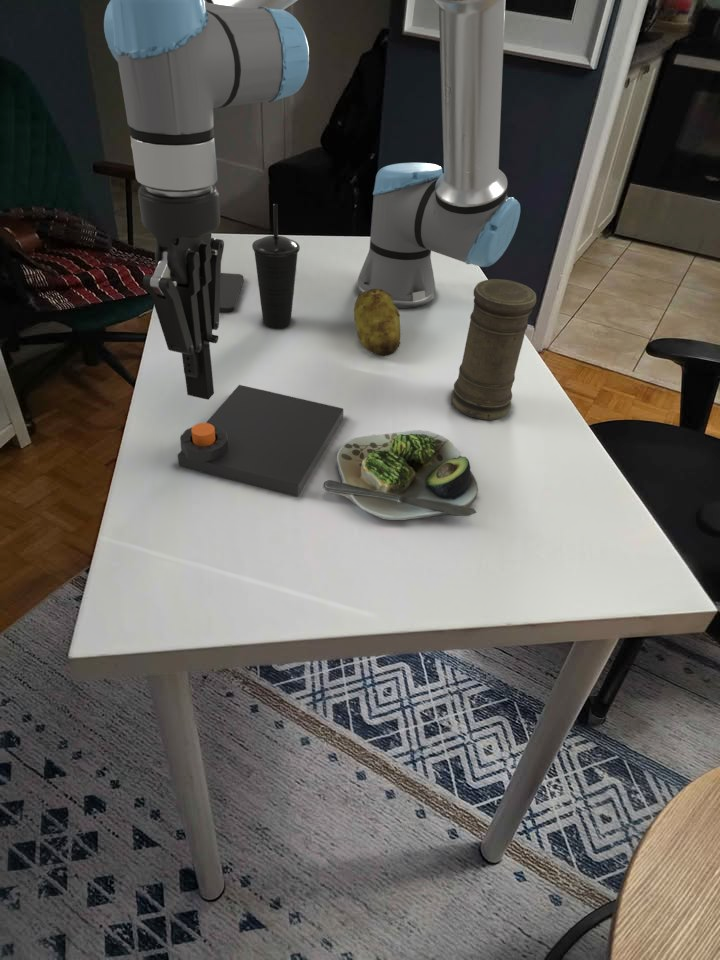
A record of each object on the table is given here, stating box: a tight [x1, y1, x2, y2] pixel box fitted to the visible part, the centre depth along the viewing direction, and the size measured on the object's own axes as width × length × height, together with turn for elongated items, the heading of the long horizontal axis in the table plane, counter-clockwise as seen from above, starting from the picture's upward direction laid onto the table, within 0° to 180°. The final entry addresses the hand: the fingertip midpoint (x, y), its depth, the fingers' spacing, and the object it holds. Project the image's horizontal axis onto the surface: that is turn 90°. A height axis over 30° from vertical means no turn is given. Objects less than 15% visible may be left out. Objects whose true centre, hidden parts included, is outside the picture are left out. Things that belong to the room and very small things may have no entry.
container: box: [450, 278, 537, 421], centre depth 92 cm, size 9×9×18 cm
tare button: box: [191, 422, 216, 446], centre depth 80 cm, size 3×3×2 cm
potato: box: [353, 289, 402, 357], centre depth 108 cm, size 8×13×8 cm, turn 176°
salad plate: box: [322, 429, 479, 521], centre depth 80 cm, size 19×18×5 cm
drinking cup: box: [251, 203, 301, 330], centre depth 107 cm, size 8×8×20 cm
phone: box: [219, 272, 245, 313], centre depth 121 cm, size 7×1×15 cm
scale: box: [177, 384, 344, 497], centre depth 86 cm, size 18×16×4 cm
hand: (200, 394), depth 77 cm, fingers closed
